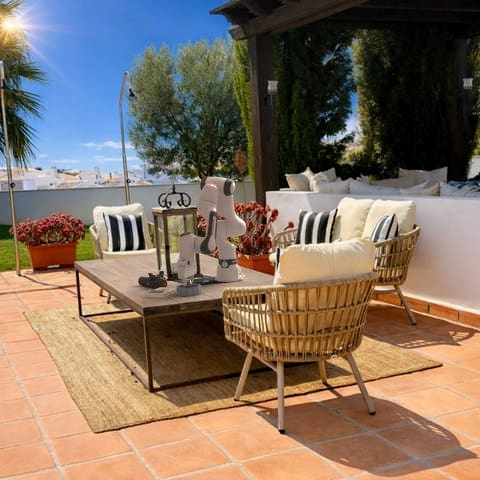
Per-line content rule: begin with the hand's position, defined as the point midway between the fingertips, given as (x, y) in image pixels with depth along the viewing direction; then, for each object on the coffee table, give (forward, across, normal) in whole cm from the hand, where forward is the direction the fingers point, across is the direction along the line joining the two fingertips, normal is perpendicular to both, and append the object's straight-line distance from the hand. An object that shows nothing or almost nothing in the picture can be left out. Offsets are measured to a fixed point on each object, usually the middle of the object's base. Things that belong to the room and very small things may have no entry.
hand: (188, 284), depth 363 cm
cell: (+5, 0, 0) cm, 5 cm away
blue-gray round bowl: (+6, 0, 0) cm, 6 cm away
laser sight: (+6, -18, -31) cm, 37 cm away
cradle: (+6, +3, -16) cm, 17 cm away
